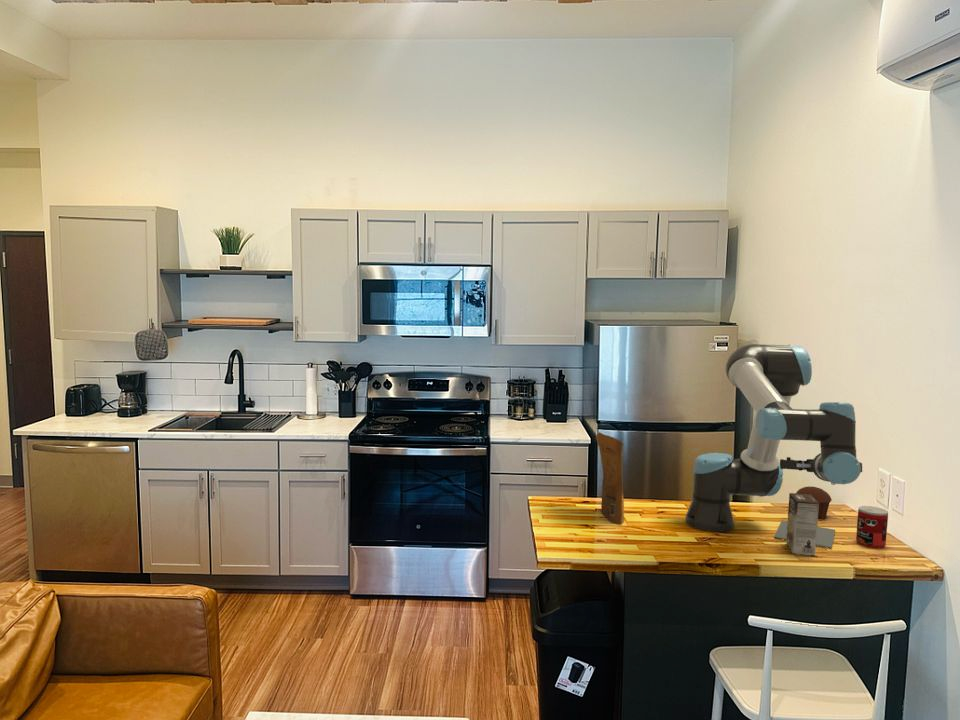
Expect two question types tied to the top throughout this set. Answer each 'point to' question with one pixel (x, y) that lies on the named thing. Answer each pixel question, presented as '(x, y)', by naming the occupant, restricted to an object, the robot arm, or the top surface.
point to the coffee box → (802, 523)
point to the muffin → (818, 499)
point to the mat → (822, 537)
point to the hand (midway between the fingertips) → (815, 465)
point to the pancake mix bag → (611, 478)
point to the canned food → (872, 527)
